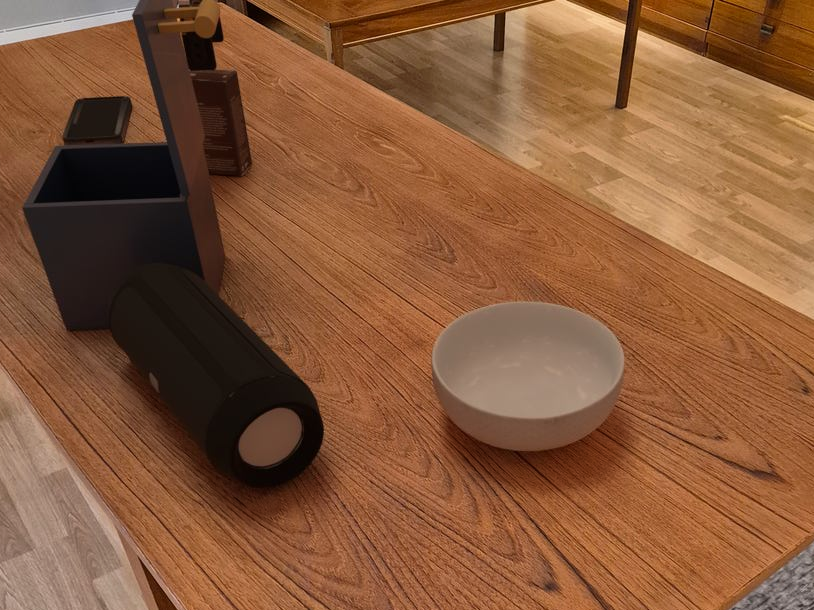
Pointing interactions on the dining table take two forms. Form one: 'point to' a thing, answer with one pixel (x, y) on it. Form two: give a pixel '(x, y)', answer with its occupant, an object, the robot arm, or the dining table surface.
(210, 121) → the box
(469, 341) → the cereal bowl
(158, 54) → the lid
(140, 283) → the portable speaker
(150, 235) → the chest
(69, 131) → the phone
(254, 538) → the dining table surface
